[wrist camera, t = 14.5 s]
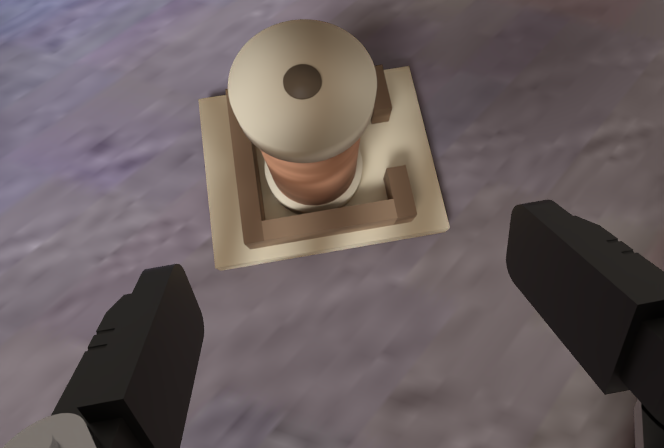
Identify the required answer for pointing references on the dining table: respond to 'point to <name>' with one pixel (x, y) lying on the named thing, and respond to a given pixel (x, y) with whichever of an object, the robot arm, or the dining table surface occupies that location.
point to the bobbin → (305, 110)
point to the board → (334, 224)
